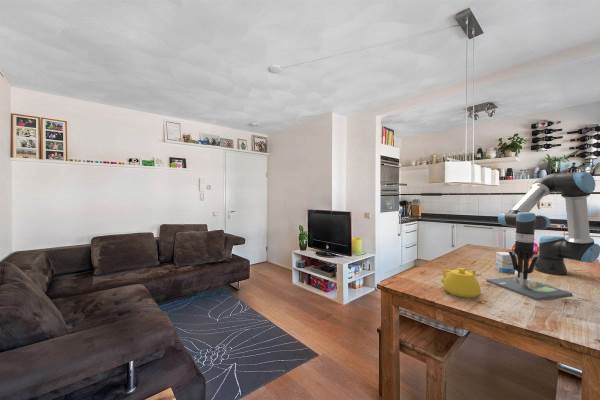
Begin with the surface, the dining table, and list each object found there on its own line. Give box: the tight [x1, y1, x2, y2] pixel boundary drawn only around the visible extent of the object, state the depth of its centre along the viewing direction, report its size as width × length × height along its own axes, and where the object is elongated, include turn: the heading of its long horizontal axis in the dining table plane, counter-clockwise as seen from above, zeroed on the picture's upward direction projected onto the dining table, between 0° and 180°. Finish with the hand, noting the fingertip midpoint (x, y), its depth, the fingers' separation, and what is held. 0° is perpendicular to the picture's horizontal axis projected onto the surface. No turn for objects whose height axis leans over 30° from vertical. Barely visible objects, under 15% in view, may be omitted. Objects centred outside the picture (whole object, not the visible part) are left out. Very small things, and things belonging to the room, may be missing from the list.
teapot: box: [441, 267, 482, 299], centre depth 136 cm, size 20×19×13 cm
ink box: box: [494, 251, 518, 274], centre depth 169 cm, size 9×8×12 cm
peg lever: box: [514, 270, 536, 289], centre depth 140 cm, size 19×5×6 cm, turn 158°
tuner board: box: [485, 276, 573, 301], centre depth 140 cm, size 24×26×2 cm
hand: (522, 284), depth 138 cm, fingers closed
